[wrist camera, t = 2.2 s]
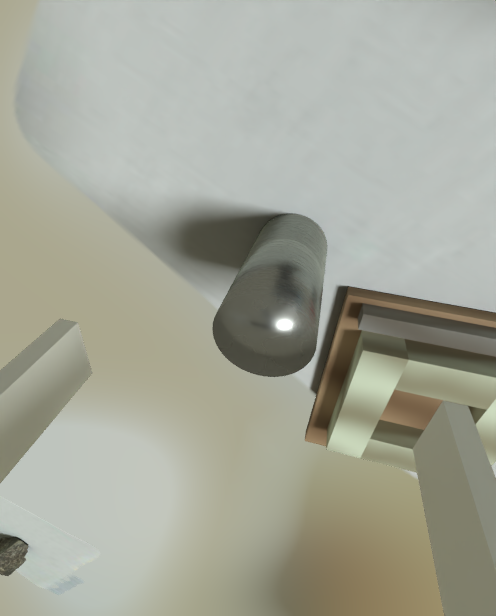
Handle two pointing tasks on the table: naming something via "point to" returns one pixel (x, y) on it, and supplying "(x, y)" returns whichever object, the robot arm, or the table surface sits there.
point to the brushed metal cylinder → (275, 300)
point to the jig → (402, 375)
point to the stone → (11, 555)
